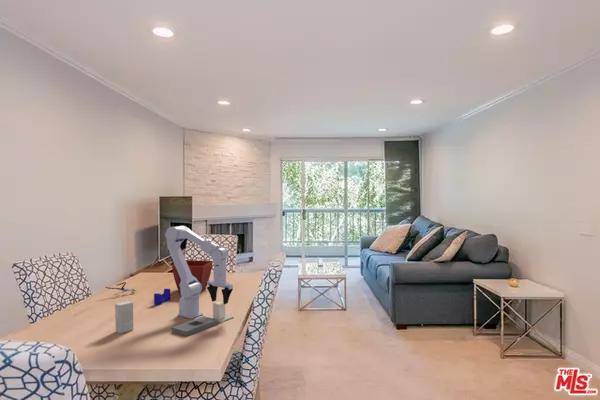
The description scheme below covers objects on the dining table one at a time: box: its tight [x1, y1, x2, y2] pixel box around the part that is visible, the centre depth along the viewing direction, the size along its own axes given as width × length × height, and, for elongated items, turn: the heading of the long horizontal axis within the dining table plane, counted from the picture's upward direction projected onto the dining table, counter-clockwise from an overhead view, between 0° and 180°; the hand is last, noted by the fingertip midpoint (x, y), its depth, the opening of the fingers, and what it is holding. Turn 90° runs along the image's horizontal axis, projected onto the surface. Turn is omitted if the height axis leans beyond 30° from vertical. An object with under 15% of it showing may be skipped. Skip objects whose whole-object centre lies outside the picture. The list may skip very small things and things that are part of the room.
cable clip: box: [153, 288, 171, 306], centre depth 211 cm, size 12×4×6 cm, turn 171°
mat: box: [208, 314, 235, 324], centre depth 183 cm, size 9×9×1 cm
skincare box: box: [114, 300, 135, 334], centre depth 167 cm, size 6×4×12 cm
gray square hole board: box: [171, 315, 219, 337], centre depth 170 cm, size 9×18×2 cm, turn 147°
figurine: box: [104, 281, 137, 298], centre depth 224 cm, size 10×9×20 cm
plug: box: [212, 300, 226, 320], centre depth 183 cm, size 4×4×7 cm
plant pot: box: [171, 259, 214, 293], centre depth 236 cm, size 19×19×17 cm
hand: (219, 302), depth 183 cm, fingers open, 7 cm apart
